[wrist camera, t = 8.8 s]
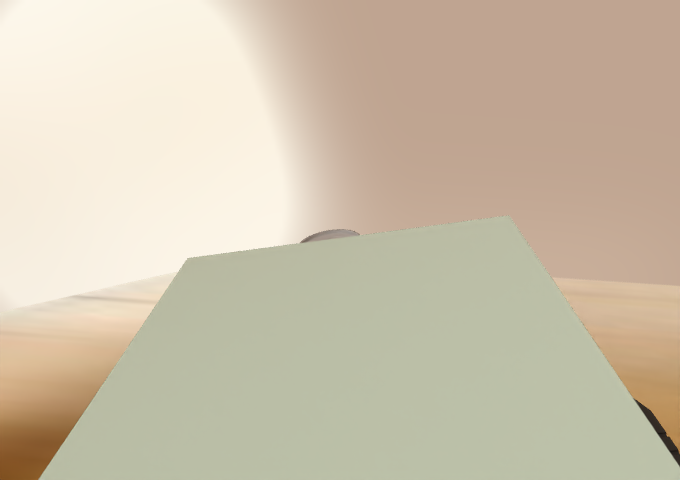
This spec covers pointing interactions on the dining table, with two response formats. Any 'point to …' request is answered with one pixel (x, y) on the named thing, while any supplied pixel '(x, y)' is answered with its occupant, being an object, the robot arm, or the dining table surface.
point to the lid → (366, 371)
